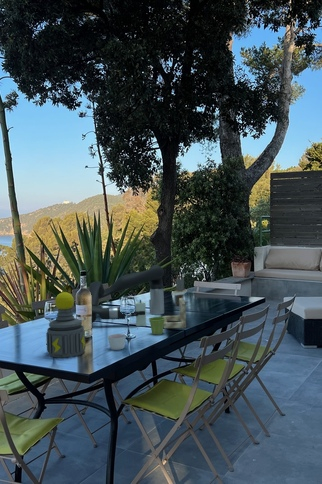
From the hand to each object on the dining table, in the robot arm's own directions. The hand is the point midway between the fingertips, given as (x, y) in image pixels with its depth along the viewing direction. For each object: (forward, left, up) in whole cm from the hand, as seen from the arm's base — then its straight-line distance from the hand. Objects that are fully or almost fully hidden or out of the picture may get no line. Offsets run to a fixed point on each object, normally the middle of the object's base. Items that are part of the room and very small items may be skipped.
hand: (145, 312), depth 301 cm
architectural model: (-26, +72, -9) cm, 77 cm away
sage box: (-2, -2, -8) cm, 8 cm away
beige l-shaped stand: (+13, +11, -8) cm, 19 cm away
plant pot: (+21, -15, -8) cm, 27 cm away
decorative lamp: (+9, -71, -8) cm, 72 cm away
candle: (+24, -51, -8) cm, 57 cm away
